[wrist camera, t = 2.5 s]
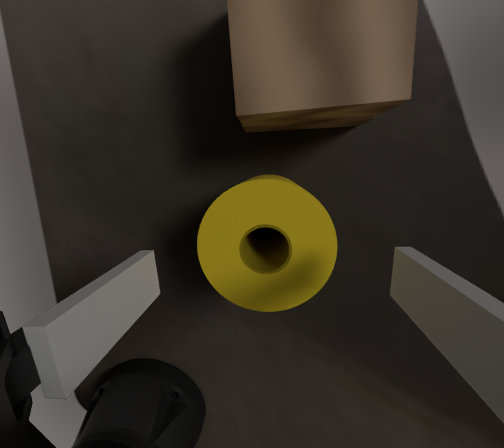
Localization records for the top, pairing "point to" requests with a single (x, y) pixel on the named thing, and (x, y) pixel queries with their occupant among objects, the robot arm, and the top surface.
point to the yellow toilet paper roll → (267, 244)
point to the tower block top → (320, 58)
